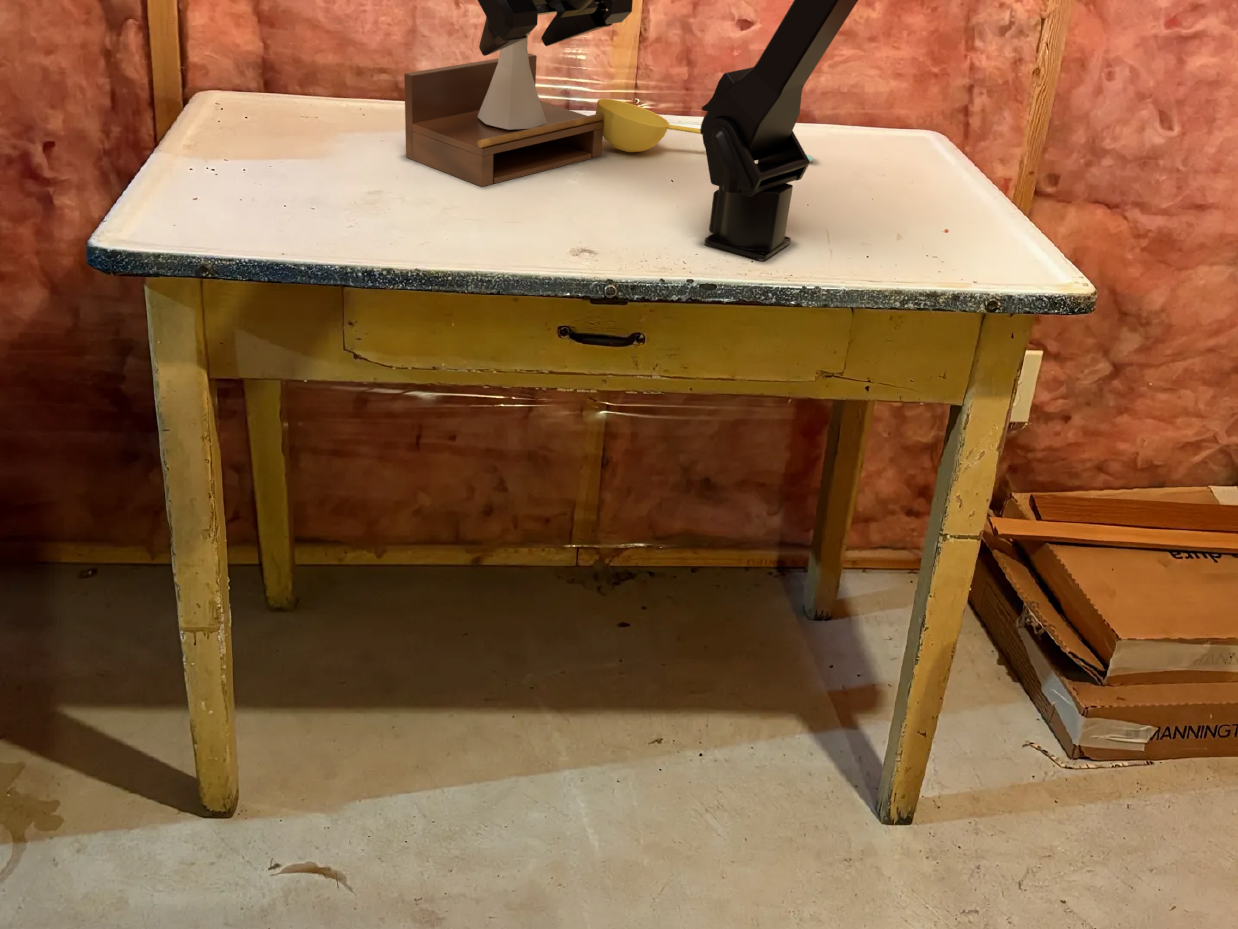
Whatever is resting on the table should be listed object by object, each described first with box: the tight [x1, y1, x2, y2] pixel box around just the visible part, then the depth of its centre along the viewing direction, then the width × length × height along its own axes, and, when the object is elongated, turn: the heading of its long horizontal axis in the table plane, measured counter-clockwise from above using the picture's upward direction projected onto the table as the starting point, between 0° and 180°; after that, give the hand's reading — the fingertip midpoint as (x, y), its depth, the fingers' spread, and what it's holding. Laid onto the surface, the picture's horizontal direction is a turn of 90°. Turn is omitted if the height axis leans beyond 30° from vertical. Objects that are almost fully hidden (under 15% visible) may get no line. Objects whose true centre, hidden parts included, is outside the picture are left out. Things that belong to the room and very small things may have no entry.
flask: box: [478, 31, 547, 130], centre depth 124 cm, size 7×7×10 cm
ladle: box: [595, 98, 814, 163], centre depth 135 cm, size 9×26×6 cm, turn 93°
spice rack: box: [403, 52, 604, 188], centre depth 126 cm, size 12×19×9 cm, turn 139°
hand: (513, 46), depth 122 cm, fingers open, 9 cm apart
